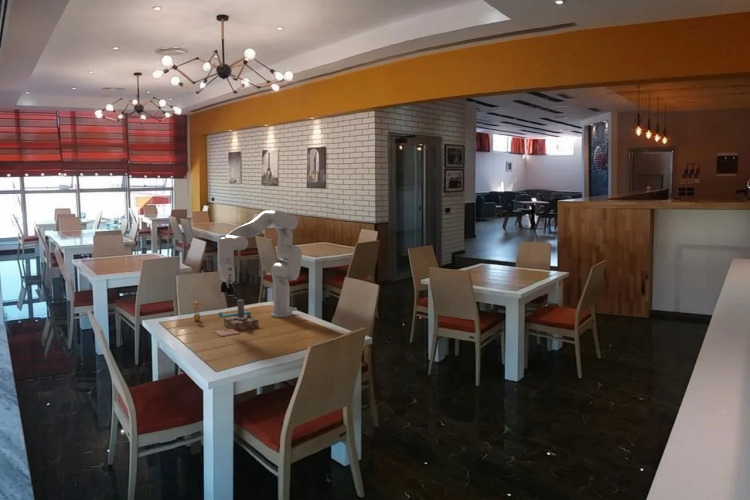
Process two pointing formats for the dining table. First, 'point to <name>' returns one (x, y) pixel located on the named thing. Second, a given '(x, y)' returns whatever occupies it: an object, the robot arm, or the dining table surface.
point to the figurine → (196, 316)
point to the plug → (240, 311)
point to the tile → (226, 332)
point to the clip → (231, 314)
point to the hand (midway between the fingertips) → (226, 293)
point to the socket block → (241, 323)
